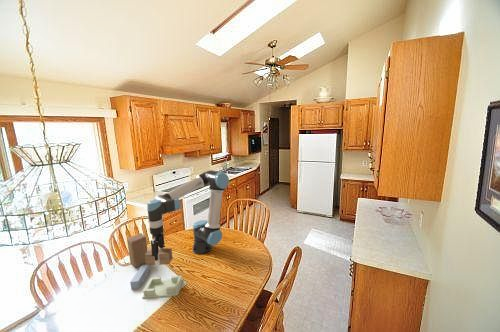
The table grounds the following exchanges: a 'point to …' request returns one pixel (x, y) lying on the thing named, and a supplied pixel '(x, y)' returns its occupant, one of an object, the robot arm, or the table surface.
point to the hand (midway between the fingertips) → (159, 260)
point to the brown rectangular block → (164, 256)
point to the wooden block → (137, 249)
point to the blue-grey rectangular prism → (139, 276)
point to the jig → (163, 287)
